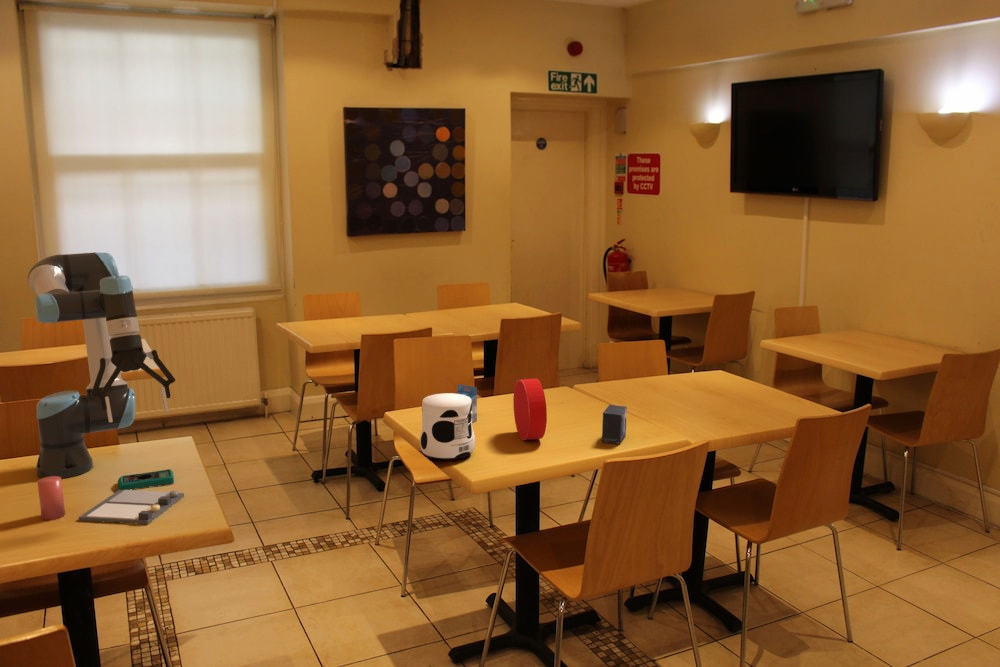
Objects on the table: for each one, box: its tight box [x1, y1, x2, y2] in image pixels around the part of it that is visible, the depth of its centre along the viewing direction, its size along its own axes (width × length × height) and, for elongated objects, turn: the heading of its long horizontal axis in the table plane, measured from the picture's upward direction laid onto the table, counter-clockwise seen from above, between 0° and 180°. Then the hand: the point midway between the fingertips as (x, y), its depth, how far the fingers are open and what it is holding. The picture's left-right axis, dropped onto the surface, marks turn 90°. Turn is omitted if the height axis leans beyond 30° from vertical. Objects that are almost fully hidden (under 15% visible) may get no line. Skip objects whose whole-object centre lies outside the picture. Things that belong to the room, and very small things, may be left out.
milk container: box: [419, 392, 476, 461], centre depth 272 cm, size 17×17×18 cm
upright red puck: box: [512, 378, 548, 441], centre depth 288 cm, size 20×6×20 cm, turn 14°
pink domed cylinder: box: [37, 476, 66, 521], centre depth 227 cm, size 6×6×10 cm
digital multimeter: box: [117, 468, 175, 490], centre depth 250 cm, size 7×15×3 cm, turn 114°
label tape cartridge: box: [454, 384, 478, 424], centre depth 309 cm, size 9×4×12 cm, turn 55°
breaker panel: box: [78, 489, 185, 525], centre depth 232 cm, size 19×19×3 cm
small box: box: [601, 404, 628, 446], centre depth 287 cm, size 11×6×10 cm, turn 161°
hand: (139, 416), depth 225 cm, fingers open, 13 cm apart
